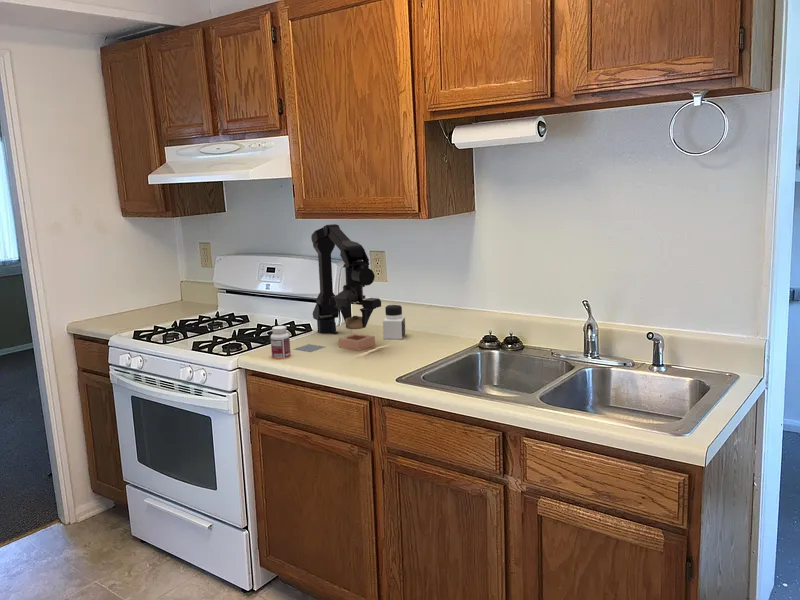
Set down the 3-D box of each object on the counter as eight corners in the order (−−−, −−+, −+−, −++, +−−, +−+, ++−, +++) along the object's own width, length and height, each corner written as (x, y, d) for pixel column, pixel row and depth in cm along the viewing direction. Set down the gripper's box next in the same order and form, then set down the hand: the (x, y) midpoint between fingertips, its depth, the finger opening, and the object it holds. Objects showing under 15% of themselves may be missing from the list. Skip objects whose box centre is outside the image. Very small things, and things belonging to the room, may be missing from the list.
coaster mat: (293, 352, 243) (293, 349, 243) (308, 346, 249) (308, 344, 249) (310, 354, 239) (310, 352, 238) (326, 349, 245) (326, 346, 245)
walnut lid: (341, 328, 242) (341, 317, 242) (354, 323, 248) (353, 313, 247) (357, 330, 239) (357, 319, 238) (370, 326, 244) (369, 315, 244)
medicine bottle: (402, 339, 256) (401, 307, 254) (383, 339, 257) (382, 307, 255) (405, 334, 263) (404, 303, 260) (386, 334, 264) (385, 303, 262)
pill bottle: (287, 355, 238) (285, 324, 236) (293, 360, 233) (291, 327, 231) (269, 358, 235) (267, 326, 233) (275, 363, 230) (273, 330, 228)
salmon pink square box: (338, 350, 244) (338, 338, 243) (354, 344, 251) (354, 333, 250) (359, 353, 239) (358, 341, 238) (375, 347, 246) (374, 336, 245)
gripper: (317, 283, 239) (320, 328, 242) (361, 287, 229) (363, 333, 232) (338, 278, 248) (340, 321, 251) (381, 282, 238) (383, 327, 241)
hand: (355, 326), depth 243 cm, fingers closed on walnut lid, 7 cm apart
